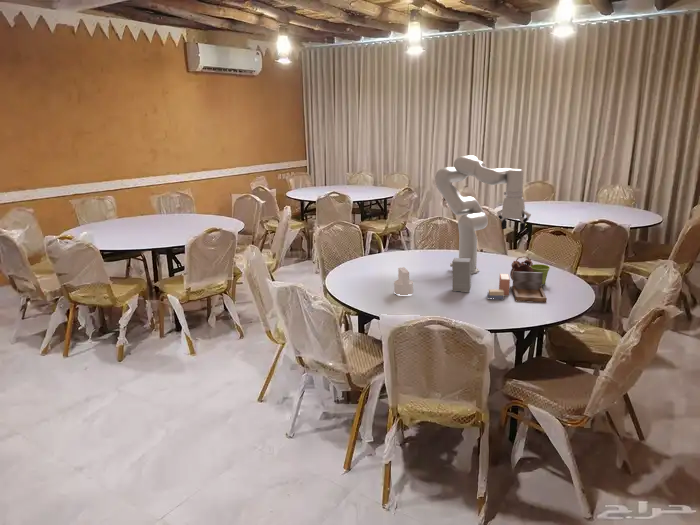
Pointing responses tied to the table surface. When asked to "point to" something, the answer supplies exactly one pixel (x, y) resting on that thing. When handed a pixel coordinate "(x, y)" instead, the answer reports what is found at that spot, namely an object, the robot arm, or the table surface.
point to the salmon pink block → (504, 283)
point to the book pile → (495, 293)
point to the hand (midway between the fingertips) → (513, 229)
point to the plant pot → (541, 270)
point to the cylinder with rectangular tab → (403, 283)
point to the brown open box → (528, 286)
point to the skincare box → (461, 274)
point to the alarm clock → (521, 266)
